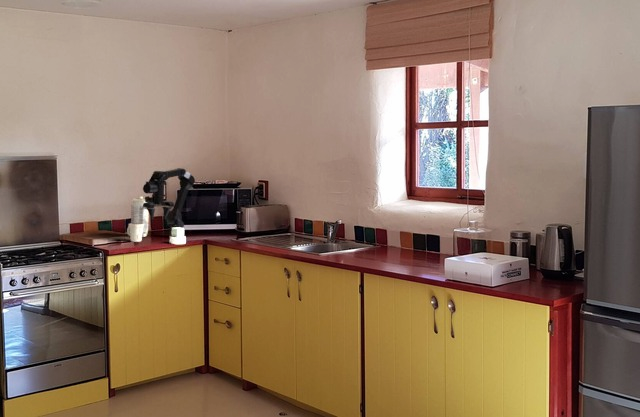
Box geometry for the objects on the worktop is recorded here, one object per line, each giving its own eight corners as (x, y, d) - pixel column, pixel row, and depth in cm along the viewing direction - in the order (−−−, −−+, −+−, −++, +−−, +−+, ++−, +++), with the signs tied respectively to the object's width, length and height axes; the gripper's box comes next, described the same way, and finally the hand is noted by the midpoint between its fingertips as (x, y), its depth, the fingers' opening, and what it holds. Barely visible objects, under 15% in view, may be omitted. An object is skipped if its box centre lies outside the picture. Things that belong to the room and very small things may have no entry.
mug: (134, 242, 424) (135, 225, 423) (120, 239, 431) (120, 222, 430) (146, 241, 430) (146, 224, 429) (132, 238, 438) (132, 221, 437)
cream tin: (178, 241, 435) (179, 235, 434) (188, 243, 429) (189, 237, 429) (166, 243, 428) (166, 236, 428) (176, 245, 422) (176, 238, 422)
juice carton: (148, 235, 452) (149, 196, 449) (146, 237, 444) (146, 197, 441) (133, 235, 452) (133, 195, 449) (130, 237, 444) (130, 196, 441)
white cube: (178, 235, 432) (178, 227, 431) (184, 236, 428) (184, 228, 428) (171, 236, 428) (171, 227, 427) (177, 237, 424) (177, 228, 424)
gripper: (162, 191, 447) (161, 216, 448) (137, 192, 432) (136, 219, 434) (174, 192, 440) (174, 218, 441) (149, 193, 425) (149, 221, 427)
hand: (158, 219), depth 436 cm, fingers open, 9 cm apart
